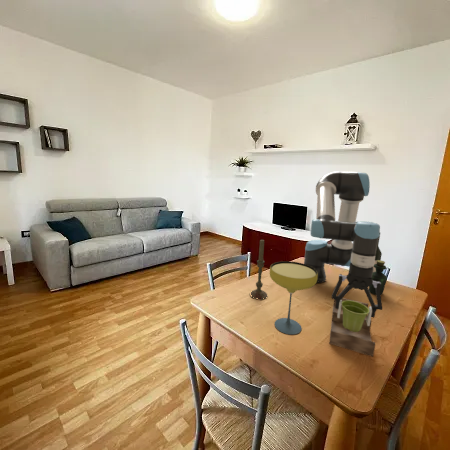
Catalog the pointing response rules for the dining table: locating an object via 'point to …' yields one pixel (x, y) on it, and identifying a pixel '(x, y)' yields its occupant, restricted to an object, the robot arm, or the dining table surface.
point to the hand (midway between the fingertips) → (352, 320)
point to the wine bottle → (377, 256)
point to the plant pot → (353, 315)
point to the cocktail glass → (292, 288)
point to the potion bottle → (378, 277)
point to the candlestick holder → (258, 292)
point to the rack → (351, 334)
